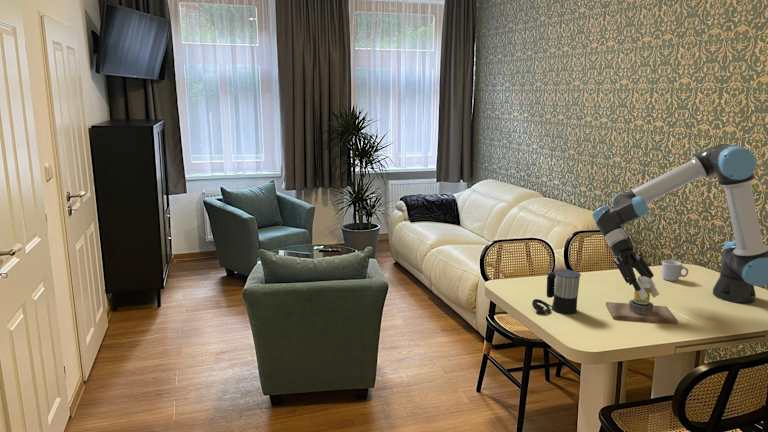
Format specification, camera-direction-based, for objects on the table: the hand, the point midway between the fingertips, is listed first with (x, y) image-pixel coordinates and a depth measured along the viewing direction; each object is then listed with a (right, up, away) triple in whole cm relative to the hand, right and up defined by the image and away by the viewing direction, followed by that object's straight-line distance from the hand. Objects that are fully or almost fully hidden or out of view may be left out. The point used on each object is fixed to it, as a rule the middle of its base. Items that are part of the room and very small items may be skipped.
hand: (650, 296), depth 213 cm
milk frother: (-33, -6, +7) cm, 34 cm away
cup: (+31, +1, +46) cm, 56 cm away
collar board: (-2, -7, +5) cm, 9 cm away
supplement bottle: (-2, -3, +4) cm, 5 cm away
